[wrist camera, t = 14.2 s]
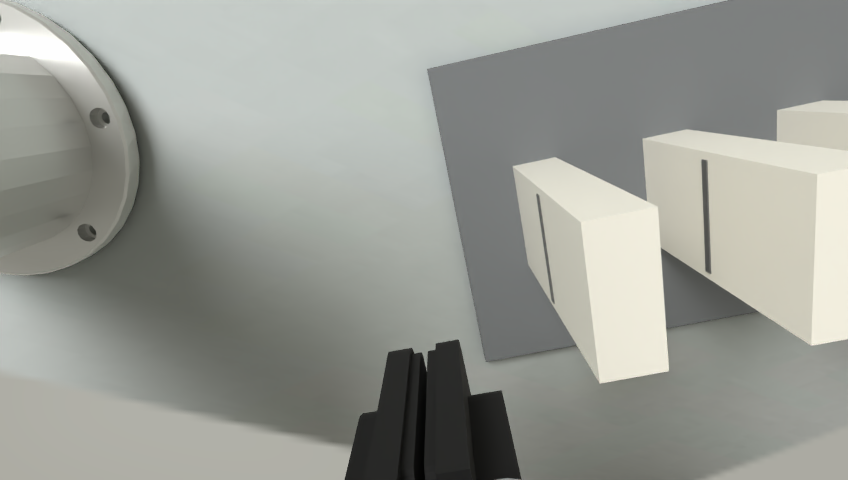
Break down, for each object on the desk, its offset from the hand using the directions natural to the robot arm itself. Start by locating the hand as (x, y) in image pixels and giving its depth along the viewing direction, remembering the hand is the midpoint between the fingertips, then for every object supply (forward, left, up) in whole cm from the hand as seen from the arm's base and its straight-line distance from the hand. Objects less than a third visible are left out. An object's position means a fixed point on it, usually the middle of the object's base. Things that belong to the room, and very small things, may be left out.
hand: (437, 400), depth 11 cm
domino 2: (+11, 0, -13) cm, 17 cm away
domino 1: (+5, 0, -13) cm, 14 cm away
